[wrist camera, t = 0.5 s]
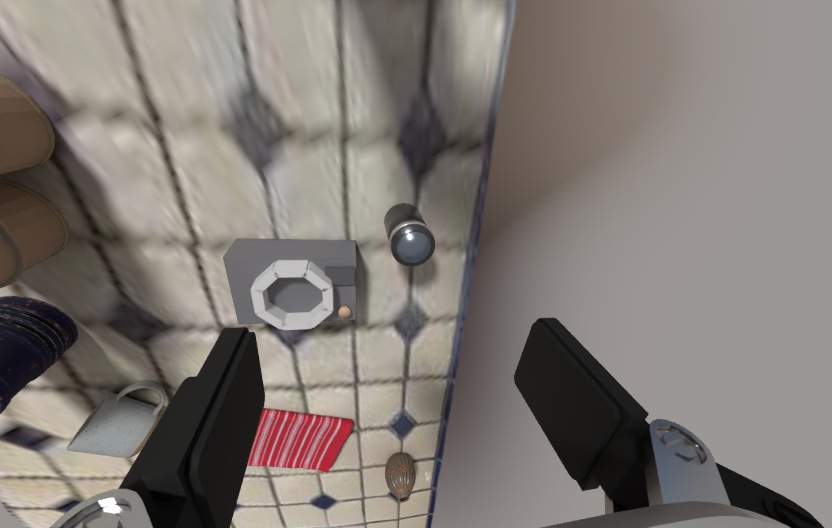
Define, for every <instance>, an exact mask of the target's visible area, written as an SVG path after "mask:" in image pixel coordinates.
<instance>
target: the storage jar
mask: <svg viewBox="0 0 832 528" xmlns="http://www.w3.org/2000/svg"><path fill="white" fill-rule="evenodd" d="M77 337H78V330H77V327H76V325H75V323H74V322H73V320H72V319H71V318H70V317H69V316H68V315H67V314H65V313H64V312H63V311H61V310H60V309H58V308H56V307H54V306H52V305H50V304H48V303H45V302H43V301H40V300H36V299H32V298H27V297H20V296H4V297H0V414H1V413H2V412H3V411H4V410H5V408H6V407H7V406H8V404H9V403H10V401H11V399H12V398H13V397H14V396H15V395H16V394H17V393H18V392H19V391H20V390H21V389H22V388H24V387H25V386H26V385H27V384H28V383H29V382H30V381H33V380H35V379H36V378H38V377H39V376H40V375H41V374H43V373H44V372H45V371H46V370H47V369H48V368H49V367H51V366H52V365H53V364H54V363H55V362H56V361H57V360H58V359H59V358H60V357H61V356H62V354H63V353H64V352H65V351H66V350H67V349H69V348H70V347H71V346H72V345H73V344H74V343H75V342H76V340H77Z"/></svg>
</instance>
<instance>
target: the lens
mask: <svg viewBox="0 0 832 528" xmlns="http://www.w3.org/2000/svg"><path fill="white" fill-rule="evenodd" d="M384 224H385V228H386V232H387V236H388V239H389V246H390V250H391V253H392V254H393V256H394V258H395V259H396V260H397V261H398V262H399V263H401V264H403V265H406V266H417V265H420V264H422V263H424V262H426V261H427V260H428V259H429V258H430V257H431V256H432V254H433V252H434V249H435V240H434V236H433V234H432V232H431V230H430V229H429V227H428V226H427V225H426V223H425V221H424V220H423V218H422V216H421V215H420V213H419V211H418V210H417V209H416V208H415V207H414V206H412V205H410V204H405V203H404V204H398V205H395V206H393V207H392V208H391V209H390V210H389V211H388V212H387V214H386V216H385V220H384Z"/></svg>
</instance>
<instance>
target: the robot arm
mask: <svg viewBox="0 0 832 528" xmlns="http://www.w3.org/2000/svg"><path fill="white" fill-rule="evenodd" d="M514 381H515V384H516V386H517V388H518V389H519V391H520V392H521V394H522V396H523V398H524V399H525V401H526V403H527V404H528V406H529V408H530V409H531V411H532V413H533V415H534V416H535V418H536V420H537V421H538V423H539V425H540V426H541V428H542V430H543V431H544V433H545V435H546V436H547V438H548V440H549V441H550V443H551V445H552V447H553V448H554V450H555V451H556V453H557V455H558V457H559V458H560V460H561V461H562V463H563V465H564V467H565V468H566V470H567V471H568V473H569V475H570V476H571V477H572V478H573V479H574V480H576V481H577V482H578V484H579V486H580V487H581V489H582V491H585V490H590V489H596V488H598V487H599V485H601V487H602V489H603V490H604V492H605V515H601V516H596V517H591V518H586V519H581V520H577V521H571V522H567V523H562V524H557V525H552V526H547V527H542V528H824V527H823V526H822V525H821V524H820V523H819V522H818V521H817V520H816V519H815V518H814V517H813V516H812V515H811V514H810V513H809V512H807V511H806V510H805V509H803V508H802V507H800V506H799V505H797V504H796V503H794V502H793V501H791V500H789V499H787V498H786V497H784V496H782V495H780V494H778V493H776V492H774V491H772V490H770V489H768V488H766V487H764V486H762V485H760V484H758V483H756V482H754V481H752V480H750V479H748V478H746V477H743V476H742V475H740V474H738V473H736V472H734V471H732V470H730V469H728V468H726V467H724V466H722V465H720V464H718V463H716V462H715V461H714V458H713V456H712V454H711V452H710V450H709V449H708V448H707V447H706V445H705V444H704V443H703V442H702V441H701V440H700V439H699V438H698V437H697V436H695V435H694V434H693V433H692V432H690V431H689V430H687V429H686V428H684V427H682V426H680V425H678V424H676V423H674V422H671V421H668V420H664V419H656V420H653V421H652V422H651V423H650V425H649V424H648V423H647V422H646V421H645V419H646V417H647V416H648V413H647V412H646V411H645V410H644V409H643V407H642V406H641V405H640V404H639V403H638V402H637V401H636V400H635V399H634V398H633V397H632V396H631V395H630V394H629V393H628V392H627V391H626V390H625V389H624V388H623V387H622V386H621V385H620V384H619V383H618V382H617V381H616V380H615V379H614V377H613V376H611V374H610V373H609V372H608V371H607V370H606V369H605V368H604V367H603V366H602V365H601V364H600V363H599V362H598V361H597V360H596V359H595V358H594V357H593V356H592V355H591V354H590V353H589V352H588V351H587V350H586V349H585V348H584V347H583V345H581V343H579V341H578V340H577V339H576V338H575V337H574V336H573V335H572V334H571V333H570V332H569V331H568V330H567V329H566V328H565V327H564V326H563V325H562V324H561V323H560V322H559V321H558V320H557V319H556V318H539V319H538V320H537V321H536V322H535V323H534V324H533V325H532V327H531V330H530V333H529V336H528V338H527V341H526V344H525V347H524V350H523V352H522V355H521V358H520V361H519V363H518V366H517V369H516V372H515V375H514ZM264 402H265V392H264V386H263V380H262V373H261V367H260V361H259V354H258V348H257V342H256V336H255V333H254V332H249V331H248V328H246V327H241V328H225V329H223V331H222V332H221V334H220V336H219V338H218V339H217V341H216V343H215V345H214V347H213V348H212V350H211V352H210V354H209V356H208V357H207V359H206V361H205V363H204V365H203V366H202V368H201V370H200V372H199V373H198V375H197V377H188V378H186V379H185V380H184V381H183V383H182V384H181V385H180V387H179V389H178V390H177V392H176V394H175V395H174V397H173V399H172V400H171V402H170V404H169V405H168V407H167V409H166V410H165V412H164V414H163V415H162V417H161V419H160V420H159V422H158V424H157V425H156V427H155V429H154V430H153V432H152V434H151V435H150V437H149V439H148V440H147V442H146V444H145V445H144V447H143V449H142V450H141V452H140V454H139V455H138V457H137V459H136V460H135V462H134V464H133V465H132V467H131V469H130V470H129V472H128V474H127V475H126V477H125V479H124V480H123V482H122V484H121V485H120V487H119V489H113V490H110V491H106V492H103V493H100V494H97V495H95V496H93V497H91V498H89V499H87V500H85V501H83V502H81V503H80V504H78V505H77V506H75V507H74V508H72V509H71V510H70V511H68V512H67V513H65V514H64V515H63V516H62V517H61V518H60V519H58V520H57V521H56V522H55V523H54V524H53V525H52V526H51V527H50V528H230V524H231V521H232V517H233V514H234V510H235V506H236V503H237V499H238V496H239V492H240V489H241V485H242V482H243V478H244V475H245V471H246V467H247V464H248V460H249V457H250V453H251V450H252V446H253V443H254V439H255V436H256V432H257V429H258V425H259V421H260V418H261V414H262V411H263V407H264Z"/></svg>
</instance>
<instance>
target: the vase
mask: <svg viewBox="0 0 832 528" xmlns="http://www.w3.org/2000/svg"><path fill="white" fill-rule="evenodd" d="M385 478H386V482H387V485H388V488H389V489H390V491H391V492H392V493H393V494H394V495H395V496H396V497H397V499H398V501H399V502H406V501H408V500H409V498H410V493H411V491H412V489H413V486H414V484H415V478H416V472H415V467H414V463H413V461H412V459H411V458H410V457H409V456H408V455H407V454H405V453H396V454H393V455H392V456H391V457H390V458H389V460H388V462H387V464H386V468H385Z"/></svg>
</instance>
